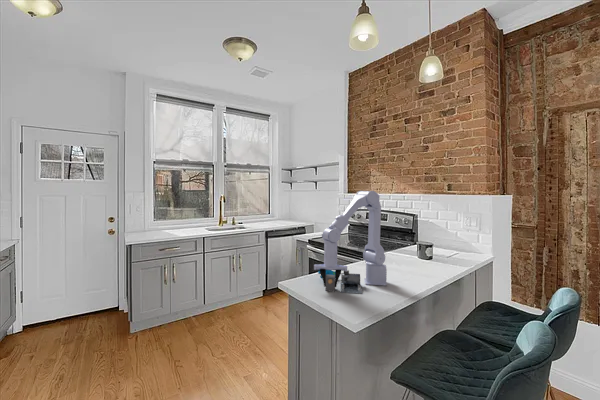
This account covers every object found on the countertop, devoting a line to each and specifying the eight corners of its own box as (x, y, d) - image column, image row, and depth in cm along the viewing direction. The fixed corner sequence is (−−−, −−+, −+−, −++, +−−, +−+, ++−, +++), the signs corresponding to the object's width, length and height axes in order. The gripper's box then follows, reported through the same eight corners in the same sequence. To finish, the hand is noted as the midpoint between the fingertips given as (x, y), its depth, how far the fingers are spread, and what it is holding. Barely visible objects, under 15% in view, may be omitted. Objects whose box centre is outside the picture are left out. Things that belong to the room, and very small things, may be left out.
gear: (321, 280, 134) (316, 262, 140) (316, 286, 137) (311, 268, 144) (341, 281, 138) (336, 263, 145) (336, 287, 142) (330, 269, 148)
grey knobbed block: (334, 288, 128) (335, 274, 128) (334, 292, 123) (334, 278, 123) (325, 287, 129) (326, 274, 129) (325, 291, 124) (325, 278, 123)
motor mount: (360, 284, 133) (360, 270, 133) (361, 293, 122) (362, 277, 121) (340, 283, 135) (340, 269, 135) (340, 292, 123) (340, 276, 123)
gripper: (313, 257, 123) (313, 288, 123) (347, 258, 121) (347, 290, 121) (314, 253, 130) (314, 283, 130) (347, 254, 128) (346, 284, 128)
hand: (330, 286), depth 126 cm, fingers closed on grey knobbed block, 4 cm apart
